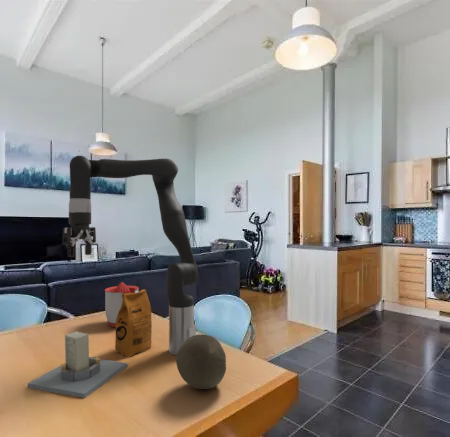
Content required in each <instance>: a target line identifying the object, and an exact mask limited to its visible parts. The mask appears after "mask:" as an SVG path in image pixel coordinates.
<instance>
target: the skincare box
mask: <svg viewBox="0 0 450 437" xmlns="http://www.w3.org/2000/svg"><path fill="white" fill-rule="evenodd" d="M89 339H90V338H89V333H86V332H81V331H78V330H76V331H74V332H71V333H68V334H65V335H64V350H65V354H64V356H65V361H64V363H66V370H71V371H79V370H84V369H88V368H89V357H90V348H89V344H90V343H89Z"/></svg>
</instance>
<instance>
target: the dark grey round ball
mask: <svg viewBox="0 0 450 437" xmlns="http://www.w3.org/2000/svg"><path fill="white" fill-rule="evenodd" d="M175 361H176V362H175V363H176V368H177V370H178V373H179V375H180V377H181V378H182V380H183V381H184V382H185V383H186V384H188V385H189V386H191V387H192V388H195V389H197V390H199V389H200V390H209V389H213V388H215V387H216V386H218V385H219V384H221V382H222V380H223V379H224V377H225V374H226V370H227V356H226V352H225V350H224V348H223V346H222V344H221V343H220V341H219V340H218V339H216V338H215V337H214V336H213V335H210V334H196V335H194V336H191V337H189V338H188V339H187V340H185V342H184V343H183V344H182V345H181V347H180V348H179V350H178V353H177V355H176V358H175Z"/></svg>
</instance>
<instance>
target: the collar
mask: <svg viewBox="0 0 450 437" xmlns="http://www.w3.org/2000/svg"><path fill="white" fill-rule="evenodd" d="M100 359H101V358H100V357H99V356H97V357H93V356H89V366H90V368H88V369H84V370H79V371H71V370H66V362H64V363H65V364H64V363H62V364H61V365H60V366H61V379H62V380H66V381H72V382H75V381H80V380H84V379H89V378H91V377H93V376H94V375H96V374H97V373H99V372H100Z"/></svg>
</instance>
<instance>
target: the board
mask: <svg viewBox="0 0 450 437" xmlns="http://www.w3.org/2000/svg"><path fill="white" fill-rule="evenodd" d="M65 363H66V362H64V363H63V364H65ZM127 367H128V363H127V362H124V361H123V362H122V361H116V360H109V359H102V358H100V372H99V373H97V374H96V375H94V376H93V377H91V378H89V379H84V380H80V381H75V382H72V381H66V380H62V379H61V365H59V366H57V367H55V368H54V369H51V370H50V371H48V372H46V373H44V374H42V375H41V376H39V377H37V378H35V379H34V380H32V381H29V382H28V383H27V388H29V389H34V390H39V391H44V392H51V393H55V394H61V395H67V396H72V397H77V398H82V399H85V398H86V397H88V396H89V395H91V394H92V393H93V392H95V391H97V389H99V388H100V387H102V386H103V385H105V383H107V382H109V381H110V380H112V379H113V378H115V376H117V375H118V374H120V372H122V371H123V370H125V369H126V368H127ZM89 368H90V366H89Z"/></svg>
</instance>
